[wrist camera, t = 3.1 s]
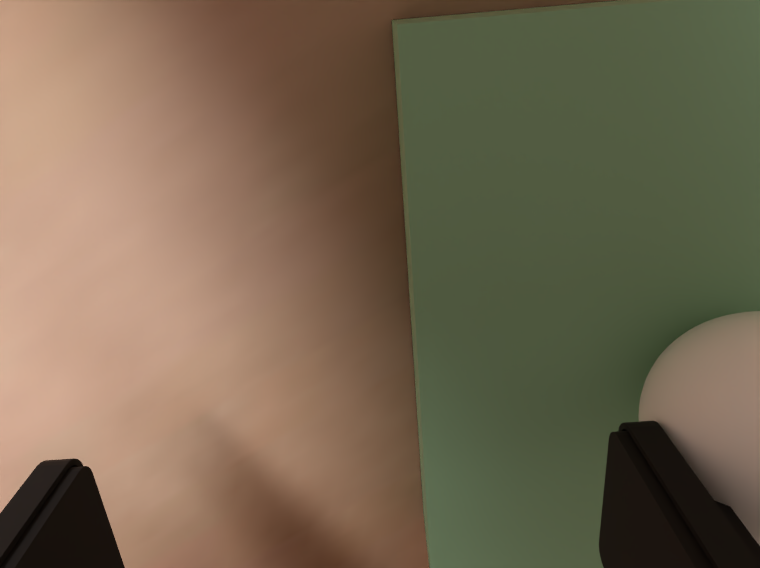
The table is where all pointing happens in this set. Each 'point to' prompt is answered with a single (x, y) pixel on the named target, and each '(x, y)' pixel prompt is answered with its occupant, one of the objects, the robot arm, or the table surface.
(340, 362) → the table surface
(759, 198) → the green plate with holes
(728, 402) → the ball
